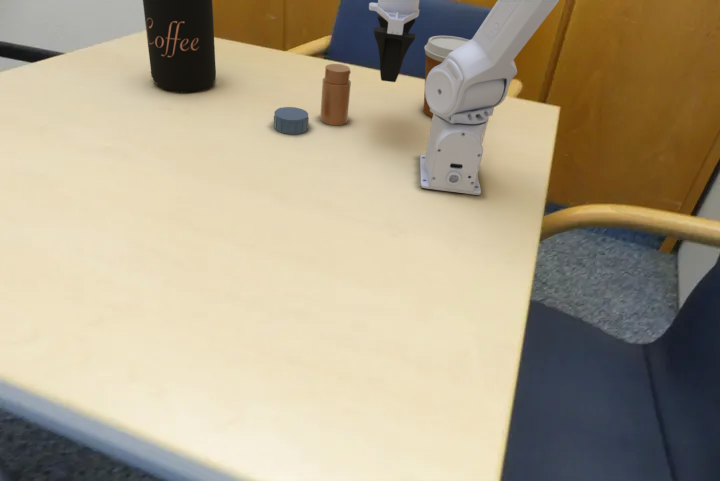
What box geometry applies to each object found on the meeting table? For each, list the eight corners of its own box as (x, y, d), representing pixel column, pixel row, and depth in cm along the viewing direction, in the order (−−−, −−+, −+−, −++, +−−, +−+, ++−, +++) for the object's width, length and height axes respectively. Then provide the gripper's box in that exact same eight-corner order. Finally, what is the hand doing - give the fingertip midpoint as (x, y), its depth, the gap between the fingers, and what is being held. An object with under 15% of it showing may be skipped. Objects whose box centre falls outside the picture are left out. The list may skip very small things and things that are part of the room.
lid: (309, 122, 88) (310, 108, 87) (305, 136, 83) (306, 121, 82) (277, 118, 88) (277, 105, 86) (271, 132, 83) (271, 118, 82)
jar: (350, 125, 89) (355, 72, 84) (324, 126, 87) (327, 72, 82) (342, 114, 92) (347, 63, 87) (317, 115, 91) (320, 63, 86)
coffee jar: (139, 86, 93) (124, -32, 83) (174, 68, 102) (164, -40, 92) (196, 98, 91) (188, -20, 81) (227, 79, 100) (223, -30, 90)
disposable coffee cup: (403, 107, 97) (413, 37, 90) (441, 99, 102) (454, 32, 96) (440, 128, 91) (455, 54, 85) (479, 118, 97) (496, 48, 90)
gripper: (375, -39, 81) (366, 55, 89) (369, -22, 69) (358, 85, 77) (423, -33, 81) (409, 60, 89) (425, -15, 69) (409, 91, 77)
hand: (389, 72), depth 83 cm, fingers open, 7 cm apart
